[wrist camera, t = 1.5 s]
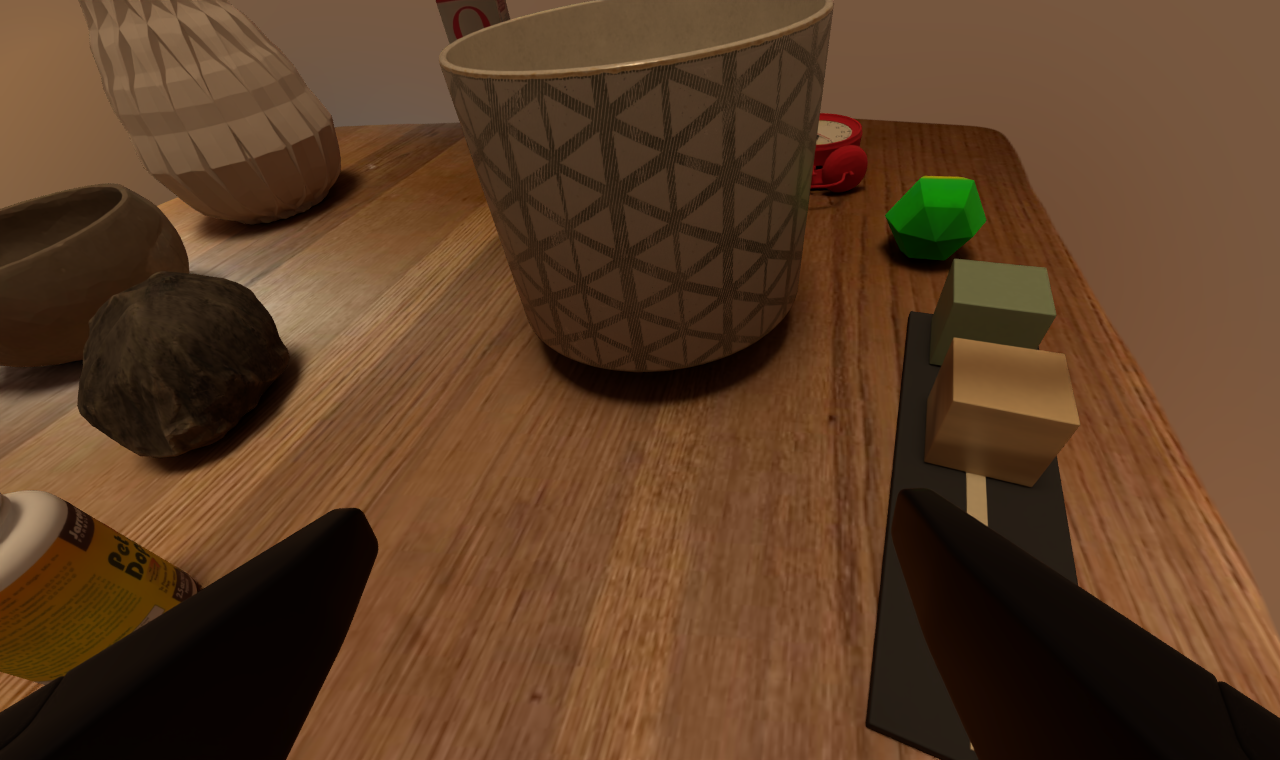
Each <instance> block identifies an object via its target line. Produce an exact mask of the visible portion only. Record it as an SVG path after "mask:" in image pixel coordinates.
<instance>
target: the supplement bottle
mask: <svg viewBox="0 0 1280 760" xmlns="http://www.w3.org/2000/svg"><path fill="white" fill-rule="evenodd" d="M196 593H197V588H196V585H195V583H194V581H193V579H192V578H191V577H190V576H189V575H188V574H187V573H185V572H183V571H182V570H181V569H179V568H177V567H175V566H174V565H172V564H171V563H169V562H167V561H166V560H164V559H162V558H161V557H159V556H157V555H155V554H154V553H152V552H150V551H149V550H147V549H145V548H144V547H142V546H140V545H138V544H137V543H136V542H134V541H132V540H130V539H128V538H127V537H125V536H124V535H122V534H120V533H118V532H116V531H115V530H114V529H112V528H110V527H109V526H107V525H105V524H103V523H102V522H100V521H98V520H96V519H95V518H93V517H91V516H90V515H88V514H86V513H85V512H83V511H81V510H80V509H78V508H76V507H75V506H73V505H72V504H70V503H68V502H66V501H64V500H63V499H61V498H59V497H57V496H55V495H53V494H50V493H47V492H43V491H18V492H12V493H8V494H4V495H2V494H1V493H0V672H3V673H6V674H10V675H13V676H17V677H20V678H23V679H27V680H30V681H34V682H37V683H40V684H43V685H46V684H48V683H50V682H51V681H53V680H55V679H56V678H58V677H60V676H65V675H66V673H67V672H68V671H70V670H71V669H73V668H75V667H76V666H78V665H80V664H81V663H83V662H84V661H86V660H88V659H89V658H91V657H93V656H94V655H96V654H98V653H99V652H101V651H102V650H104V649H106V648H107V647H109V646H111V645H112V644H114V643H116V642H117V641H119V640H120V639H122V638H124V637H125V636H127V635H129V634H130V633H132V632H134V631H135V630H137V629H138V628H140V627H142V626H143V625H145V624H147V623H148V622H150V621H152V620H153V619H155V618H156V617H158V616H160V615H161V614H163V613H165V612H166V611H168V610H170V609H171V608H173V607H174V606H176V605H178V604H179V603H181V602H183V601H184V600H186V599H188V598H189V597H191V596H192V595H194V594H196Z"/></svg>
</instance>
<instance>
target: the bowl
mask: <svg viewBox="0 0 1280 760" xmlns="http://www.w3.org/2000/svg"><path fill="white" fill-rule="evenodd" d="M161 271H169V272H179V273H189V261H188V256H187V253H186V249H185V247H184V245H183V242H182V240H181V237H180V236H179V234H178V232H177V231H176V229H175V228H174V226H173V225H172V224H171V222H170V221H169V220H168V218H167V217H166V216H165V215H164V214H163V213H162V211H161V210H160V209H159V208H158V207H157V206H156V205H154V204H153V203H152V202H150V201H149V200H147V199H146V198H144V197H142V196H140V195H139V194H137V193H135V192H133V191H131V190H130V189H128V188H126V187H124V186H122V185H120V184H98V185H91V186H85V187H79V188H74V189H69V190H65V191H61V192H57V193H53V194H50V195H46V196H42V197H38V198H34V199H30V200H27V201H24V202H20V203H17V204H14V205H11V206H8V207H5V208H2V209H0V366H9V367H40V366H50V365H58V364H64V363H69V362H73V361H79V360H83V351H84V346H85V343H86V342H87V340H88V338H89V331H90V327H89V323H88V322H89V321H90V319H91V318H92V317H93V316H95V314H96V312H97V311H98V309H99V308H100V307H101V306H102V305H103V304H104V303H105V302H107V301H108V299H110V298H111V297H112V296H113V295H116V294H119V293H121V292H123V291H125V290H127V289H129V288H131V287H133V286H135V285H137V284H140V283H142V282H144V281H145V280H147V279H148V278H149V277H150V276H151V275H153V274H155V273H157V272H161Z"/></svg>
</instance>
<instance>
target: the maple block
mask: <svg viewBox="0 0 1280 760" xmlns="http://www.w3.org/2000/svg"><path fill="white" fill-rule="evenodd" d="M1079 426H1080V422H1079V417H1078V412H1077V408H1076V403H1075V398H1074V394H1073V389H1072V384H1071V380H1070V375H1069V371H1068V366H1067V361H1066V357H1065V354H1060V353H1054V352H1047V351H1041V350H1034V349H1028V348H1021V347H1014V346H1008V345H1001V344H995V343H988V342H982V341H975V340H968V339H962V338H955V337H954V338H953V340H952V342H951V344H950V347H949V349H948V352H947V354H946V356H945V359H944V361H943V364H942V366H941V368H940V371H939V373H938V375H937V378H936V380H935V383H934V385H933V387H932V390H931V392H930V394H929V397H928V399H927V416H926V434H925V453H924V462H927V463H931V464H936V465H940V466H944V467H948V468H952V469H957V470H961V471H965V472H969V473H973V474H978V475H982V476H986V477H990V478H994V479H999V480H1003V481H1007V482H1011V483H1015V484H1020V485H1024V486H1028V487H1033V485H1034V484H1035V483H1036V481H1037V480H1038V479H1039V477H1040V476H1041V475H1042V474H1043V472H1044V471H1045V470H1046V468H1047V467H1048V466H1049V465H1050V463H1051V462H1052V461H1053V459H1054V458H1055V457H1056V456H1057V454H1058V453H1059V452H1060V450H1061V449H1062V448H1063V447H1064V445H1065V444H1066V443H1067V441H1068V440H1069V439H1070V438H1071V436H1072V435H1073V434H1074V432H1075V431H1076V430H1077V429H1078V427H1079Z"/></svg>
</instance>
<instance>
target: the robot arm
mask: <svg viewBox="0 0 1280 760" xmlns="http://www.w3.org/2000/svg"><path fill="white" fill-rule="evenodd" d="M891 533H892V540H893V544H894V547H895V550H896V553H897V556H898V559H899V562H900V565H901V568H902V572H903V575H904V578H905V581H906V584H907V587H908V590H909V593H910V596H911V599H912V602H913V605H914V608H915V611H916V615H917V618H918V621H919V624H920V626H921V629H922V632H923V635H924V638H925V640H926V643H927V645H928V647H929V650H930V652H931V655H932V657H933V659H934V661H935V664H936V666H937V668H938V670H939V672H940V675H941V677H942V679H943V681H944V684H945V686H946V688H947V690H948V693H949V695H950V697H951V699H952V701H953V704H954V706H955V708H956V710H957V713H958V715H959V717H960V719H961V722H962V724H963V726H964V728H965V730H966V733H967V735H968V737H969V739H970V742H971V744H972V746H973V748H974V751H975V753H976V755H977V757H978V759H979V760H1280V718H1279V717H1277V716H1276V715H1274V714H1273V713H1271V712H1270V711H1268V710H1267V709H1265V708H1264V707H1262V706H1260V705H1259V704H1257V703H1256V702H1254V701H1253V700H1251V699H1250V698H1248V697H1247V696H1245V695H1244V694H1242V693H1241V692H1239V691H1238V690H1236V689H1235V688H1233V687H1232V686H1230V685H1229V684H1227V683H1225V682H1217V679H1216V677H1215V676H1214V675H1213V674H1211V673H1210V672H1208V671H1207V670H1205V669H1204V668H1202V667H1201V666H1199V665H1198V664H1196V663H1195V662H1193V661H1192V660H1190V659H1189V658H1187V657H1186V656H1184V655H1182V654H1181V653H1179V652H1178V651H1176V650H1175V649H1173V648H1172V647H1170V646H1169V645H1167V644H1166V643H1164V642H1163V641H1161V640H1160V639H1158V638H1157V637H1155V636H1154V635H1152V634H1151V633H1149V632H1148V631H1146V630H1144V629H1143V628H1141V627H1140V626H1138V625H1137V624H1135V623H1134V622H1132V621H1131V620H1129V619H1128V618H1126V617H1125V616H1123V615H1122V614H1120V613H1119V612H1117V611H1116V610H1114V609H1113V608H1111V607H1109V606H1108V605H1106V604H1105V603H1103V602H1102V601H1100V600H1099V599H1097V598H1096V597H1094V596H1093V595H1091V594H1090V593H1088V592H1087V591H1085V590H1084V589H1082V588H1081V587H1079V586H1078V585H1076V584H1075V583H1073V582H1071V581H1070V580H1068V579H1067V578H1065V577H1064V576H1062V575H1061V574H1059V573H1058V572H1056V571H1055V570H1053V569H1052V568H1050V567H1049V566H1047V565H1046V564H1044V563H1043V562H1041V561H1040V560H1038V559H1036V558H1035V557H1033V556H1032V555H1030V554H1029V553H1027V552H1026V551H1024V550H1023V549H1021V548H1020V547H1018V546H1017V545H1015V544H1014V543H1012V542H1011V541H1009V540H1008V539H1006V538H1005V537H1003V536H1002V535H1000V534H998V533H997V532H995V531H994V530H992V529H991V528H989V527H988V526H986V525H985V524H983V523H982V522H980V521H979V520H977V519H976V518H974V517H973V516H971V515H970V514H968V513H967V512H965V511H963V510H962V509H960V508H959V507H957V506H956V505H954V504H953V503H951V502H950V501H948V500H947V499H945V498H944V497H942V496H941V495H939V494H938V493H936V492H935V491H933V490H931V489H928V488H909V489H903V490H901V491H900V492H899V493H898V496H897V501H896V506H895V511H894V516H893V521H892V527H891ZM377 553H378V541H377V538H376V536H375V534H374V532H373V530H372V528H371V526H370V524H369V522H368V521H367V519H366V517H365V515H364V513H363V512H362V511H361V510H360V509H357V508H339V509H334V510H332V511H330V512H328V513H327V514H325V515H323V516H322V517H320V518H319V519H317V520H315V521H314V522H312V523H310V524H309V525H307V526H305V527H304V528H302V529H301V530H299V531H297V532H296V533H294V534H292V535H291V536H289V537H287V538H286V539H284V540H283V541H281V542H279V543H278V544H276V545H274V546H273V547H271V548H269V549H268V550H266V551H265V552H263V553H261V554H260V555H258V556H256V557H255V558H253V559H251V560H250V561H248V562H247V563H245V564H243V565H242V566H240V567H238V568H237V569H235V570H233V571H232V572H230V573H229V574H227V575H225V576H224V577H222V578H220V579H219V580H217V581H215V582H214V583H212V584H211V585H209V586H207V587H206V588H204V589H202V590H201V591H199V592H197V593H196V594H194V595H192V596H191V597H189V598H188V599H186V600H184V601H183V602H181V603H179V604H178V605H176V606H174V607H173V608H171V609H170V610H168V611H166V612H165V613H163V614H161V615H160V616H158V617H156V618H155V619H153V620H152V621H150V622H148V623H147V624H145V625H143V626H142V627H140V628H138V629H137V630H135V631H134V632H132V633H130V634H129V635H127V636H125V637H124V638H122V639H120V640H119V641H117V642H116V643H114V644H112V645H111V646H109V647H107V648H106V649H104V650H102V651H101V652H99V653H98V654H96V655H94V656H93V657H91V658H89V659H88V660H86V661H84V662H83V663H81V664H80V665H78V666H76V667H75V668H73V669H71V670H70V671H68V672H67V673H66V675H65V676H60V677H58V678H56V679H55V680H53V681H51V682H50V683H48V684H46V685H45V686H43V687H42V688H40V689H38V690H37V691H35V692H33V693H32V694H30V695H29V696H27V697H25V698H24V699H22V700H20V701H19V702H17V703H15V704H14V705H12V706H10V707H9V708H7V709H5V710H4V711H2V712H0V760H286V759H287V757H288V755H289V753H290V751H291V748H292V746H293V744H294V742H295V740H296V738H297V736H298V734H299V732H300V730H301V728H302V726H303V724H304V722H305V720H306V718H307V716H308V714H309V712H310V710H311V708H312V706H313V704H314V702H315V700H316V698H317V695H318V693H319V691H320V689H321V687H322V685H323V683H324V681H325V679H326V677H327V675H328V673H329V671H330V669H331V667H332V665H333V663H334V661H335V659H336V657H337V655H338V653H339V650H340V648H341V646H342V644H343V642H344V639H345V637H346V635H347V632H348V630H349V627H350V625H351V622H352V620H353V617H354V614H355V612H356V609H357V607H358V604H359V601H360V599H361V596H362V593H363V591H364V588H365V586H366V583H367V580H368V578H369V575H370V573H371V570H372V567H373V565H374V562H375V559H376V557H377Z"/></svg>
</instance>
